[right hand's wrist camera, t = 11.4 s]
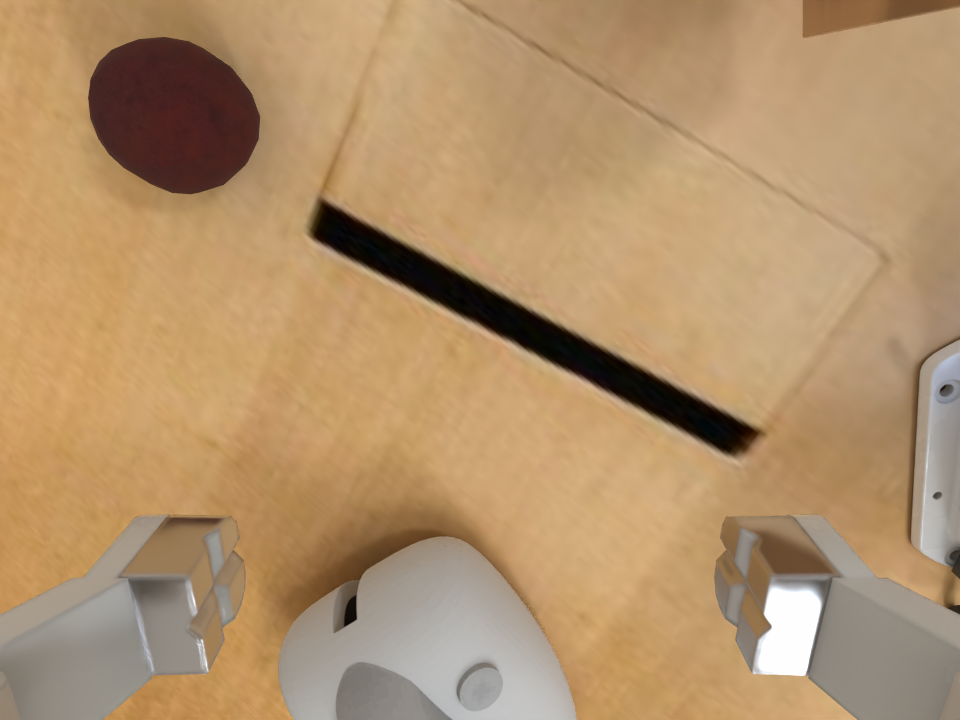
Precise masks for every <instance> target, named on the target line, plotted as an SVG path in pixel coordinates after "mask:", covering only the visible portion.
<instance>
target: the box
mask: <svg viewBox="0 0 960 720" xmlns="http://www.w3.org/2000/svg"><path fill="white" fill-rule="evenodd" d="M959 7H960V0H803V37H804V38H807V37H812V36H817V35H823V34H828V33H833V32H838V31H843V30H848V29H853V28H858V27H863V26H868V25H873V24H878V23H883V22H888V21H893V20H898V19H903V18H908V17H913V16H918V15H923V14H929V13H934V12H939V11H944V10H949V9H954V8H959Z"/></svg>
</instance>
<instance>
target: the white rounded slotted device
mask: <svg viewBox="0 0 960 720" xmlns="http://www.w3.org/2000/svg"><path fill="white" fill-rule="evenodd" d="M278 672H279V682H280V688H281V691H282V695H283V698H284V701H285V703H286V706H287V708H288V710H289V712H290V714H291V716H292V717H293V719H294V720H577V717H576V711H575V706H574V702H573V698H572V694H571V691H570V688H569V685H568V682H567V680H566V677H565V674H564V672H563V669H562V667H561V665H560V662H559V660H558V658H557V656H556V654H555V652H554V650H553V648H552V646H551V645H550V643H549V641H548V639H547V638H546V636H545V634H544V633H543V631H542V629H541V628H540V626H539V625H538V623H537V621H536V620H535V618H534V617H533V616H532V614H531V613H530V611H529V610H528V608H527V607H526V605H525V604H524V603H523V601H522V600H521V599H520V598H519V596H518V595H517V594H516V592H515V591H514V590H513V588H512V587H511V586H510V585H509V584H508V582H507V581H506V580H505V579H504V578H503V576H502V575H501V574H500V573H499V572H498V571H497V570H496V569H495V567H494V566H493V565H492V564H491V563H490V562H489V561H488V560H487V559H486V558H485V557H484V556H483V555H482V554H481V553H480V552H479V551H477V550H476V549H475V548H474V547H472V546H471V545H470V544H468V543H466V542H465V541H463V540H460V539H458V538H455V537H449V536H440V537H433V538H429V539H425V540H422V541H419V542H416V543H414V544H412V545H409V546H407V547H405V548H403V549H401V550H400V551H398V552H396V553H394V554H392V555H390V556H389V557H387V558H385V559H384V560H382V561H380V562H379V563H377V564H375V565H374V566H372V567H370V568H369V569H367V570H366V571H365V572H364V574H363V575H362V577H361V579H360V580H352V581H348V582H346V583H344V584H343V585H341V586H339V587H338V588H336V589H335V590H333V591H331V592H330V593H328V594H327V595H325V596H324V597H322V598H321V599H319V600H318V601H317V602H315V603H314V604H312V605H311V606H310V607H309V608H307V609H306V610H305V611H304V612H303V613H302V614H301V615H300V616H299V617H298V618H297V619H296V620H295V621H294V623H293V624H292V626H291V627H290V629H289V630H288V632H287V634H286V636H285V638H284V641H283V644H282V646H281V650H280V655H279V663H278Z"/></svg>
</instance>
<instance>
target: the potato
mask: <svg viewBox="0 0 960 720" xmlns="http://www.w3.org/2000/svg"><path fill="white" fill-rule="evenodd" d="M88 100H89V109H90V118H91V121H92V124H93V126H94V129H95V131H96V134H97V136H98V139H99V140H100V142H101V143H102V145H103V146H104V147H105V149H106V150H107V152H108V153H109V155H110V156H112V157H113V158H114V159H115V160H116V161H117V162H118V163H119V164H120V165H121V166H122V167H124V168H125V169H127V170H128V171H130V172H132V173H134V174H135V175H137V176H139V177H140V178H142V179H143V180H145V181H147V182H148V183H150V184H152V185H155V186H157V187H159V188H162V189H164V190H167V191H169V192H172V193H182V194H194V193H199V192H202V191H205V190H208V189H212V188H215V187H218V186H221V185H224V184H225V183H226V182H227V181H228V180H229V179H231V178H232V177H233V176H234V175H235V174H236V173H237V172H238V171H239V170H241V169H242V168H243V167H244V166H245V165H246V163H247V162H248V160H249V158H250V156H251V154H252V152H253V150H254V148H255V146H256V144H257V141H258V139H259V124H260V115H259V113H258V110H257V107H256V104H255V101H254V99H253V96H252V94H251V92H250V91H249V89H248V88H247V87H246V85H245V84H244V83H243V82H242V80H241V79H240V78H239V77H238V75H237V74H236V73H235V72H234V70H233V69H232V68H231V67H230V66H228V65H227V64H226V63H224V62H223V61H221V60H220V59H218V58H217V57H215V56H214V55H212V54H211V53H209V52H208V51H206V50H205V49H203V48H201V47H199V46H197V45H195V44H193V43H191V42H188V41H183V40H178V39H172V38H166V37H161V38H149V39H139V40H136V41H133V42H130V43H127V44H125V45H123V46H120V47H118V48H115V49H113V50H111V51H110V52H109V53H108V54H107V55H106V56H105V57H104V58H103V59H102V60H101V61H100V62H99V63H98V65H97V67H96V69H95V71H94V73H93V75H92V77H91V81H90V89H89V96H88Z"/></svg>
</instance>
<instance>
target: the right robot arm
mask: <svg viewBox="0 0 960 720" xmlns="http://www.w3.org/2000/svg"><path fill="white" fill-rule="evenodd" d="M944 385H946V386H945V388H944V389H943V390H942V391H940V389H941V388H942V387H943V386H944ZM239 538H240V536H239V531H238V526H237V521H236V520H235V519H234V518H233V517H232V516H213V515H141V516H138V517H135V518H134V519H133V521H132V522H131V523H130V524H129V525H128V526H127V527H126V529H125V530H124V531H123V532H122V533H121V534H120V535H119V537H118V538H117V539H116V540H115V541H114V542H113V543H112V545H111V546H110V547H109V548H108V549H107V550H106V552H105V553H104V554H103V555H102V556H101V557H100V558H99V560H98V561H97V562H96V563H95V564H94V565H93V566H92V568H91V569H90V570H89V571H88V572H87V573H86V574H85V576H84V577H83V578H71V579H69V580H68V581H66V582H64V583H62V584H60V585H58V586H56V587H54V588H52V589H50V590H48V591H46V592H44V593H42V594H40V595H38V596H36V597H34V598H32V599H30V600H28V601H26V602H24V603H22V604H20V605H18V606H16V607H14V608H12V609H10V610H8V611H6V612H4V613H2V614H0V720H103V719H104V718H105V717H106V716H108V715H109V714H110V713H111V712H112V711H114V710H115V709H116V708H117V707H118V706H120V705H121V704H122V703H123V702H124V701H125V700H127V699H128V698H129V697H130V696H131V695H133V694H134V693H135V692H136V691H137V690H138V689H140V688H141V687H142V686H143V685H144V684H146V683H147V682H148V681H149V680H150V679H151V675H183V674H208V672H209V670H210V668H211V666H212V664H213V662H214V660H215V658H216V656H217V654H218V652H219V650H220V648H221V646H222V644H223V642H224V634H223V627H224V626H225V625H227V624H228V623H230V622H231V621H232V620H234V619H235V617H236V615H237V613H238V611H239V609H240V607H241V604H242V599H243V595H244V590H245V567H244V560H243V559H242V558H241V557H240V556H239V555H238V554H237V553H236V552H235V551H234V550H233V549H234V547H235V546H236V544H237V542H238V540H239ZM720 538H721V540H722V542H723V544H724V546H725V547H726V549H727V550H726V551H725V552H724V553H723V554H722V555H721V556H720V557H719V558H718V559H717V560H716V568H715V576H714V578H715V590H716V596H717V600H718V603H719V607H720V609H721V611H722V613H723V615H724V617H725V619H726V620H728V621H729V622H730V623H732V624H733V625H735V626H736V627H738V628H737V634H736V642H737V644H738V646H739V648H740V650H741V652H742V654H743V656H744V658H745V660H746V662H747V664H748V666H749V668H750V670H751V672H752V674H776V675H809V677H808V678H809V679H810V680H811V681H812V682H814V683H815V684H816V685H817V686H818V687H819V688H821V689H822V690H823V691H824V692H825V693H827V694H828V695H829V696H830V697H831V698H832V699H834V700H835V701H836V702H837V703H838V704H840V705H841V706H842V707H843V708H844V709H845V710H847V711H848V712H849V713H850V714H851V715H853V716H854V717H855V718H856V719H857V720H960V605H955V606H953V607H952V608H951V609H948V608H946V607H944V606H942V605H940V604H938V603H936V602H934V601H932V600H930V599H928V598H926V597H924V596H922V595H920V594H918V593H916V592H914V591H912V590H910V589H908V588H906V587H904V586H902V585H900V584H898V583H896V582H894V581H892V580H891V579H889V578H877V577H876V576H875V574H874V573H873V572H872V571H871V570H870V569H869V568H868V566H867V565H866V564H865V563H864V562H863V561H862V560H861V558H860V557H859V556H858V555H857V554H856V553H855V552H854V550H853V549H852V548H851V547H850V546H849V545H848V544H847V542H846V541H845V540H844V539H843V538H842V537H841V535H840V534H839V533H838V532H837V531H836V530H835V529H834V527H833V526H832V525H831V524H830V523H829V522H828V521H827V519H826V518H824V517H823V516H820V515H818V514H806V515H787V516H739V517H726V518H725V520H724V522H723V525H722V530H721V535H720ZM911 543H912V545H913V546H914V547H915V548H916V549H917V550H919V551H920V552H921V553H923V554H924V555H925V556H927V557H929V558H930V559H932V560H934V561H936V562H938V563H941V564H943V565H946V566H949V567H953V569H952V572H953V573H954V574H955V575H956V576H957V577H958V578H959V579H960V339H959V340H957V341H955V342H953V343H952V344H950V345H948V346H946V347H944V348H942V349H941V350H939V351H937V352H936V353H934V354H933V355H931V356H930V357H929V358H928V359H927V360H926V361H925V362H924V364H923V365H922V367H921V370H920V378H919V396H918V414H917V432H916V450H915V468H914V487H913V505H912V523H911Z"/></svg>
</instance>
